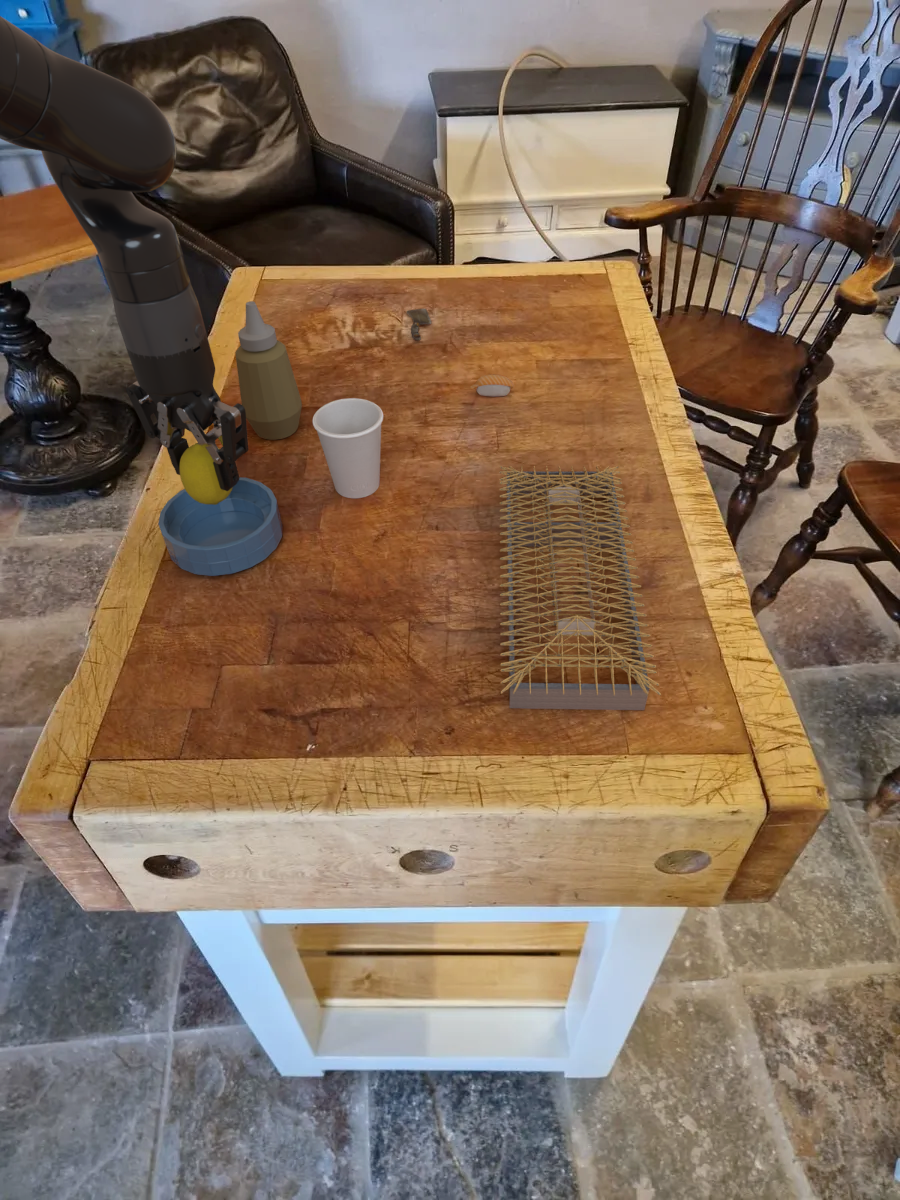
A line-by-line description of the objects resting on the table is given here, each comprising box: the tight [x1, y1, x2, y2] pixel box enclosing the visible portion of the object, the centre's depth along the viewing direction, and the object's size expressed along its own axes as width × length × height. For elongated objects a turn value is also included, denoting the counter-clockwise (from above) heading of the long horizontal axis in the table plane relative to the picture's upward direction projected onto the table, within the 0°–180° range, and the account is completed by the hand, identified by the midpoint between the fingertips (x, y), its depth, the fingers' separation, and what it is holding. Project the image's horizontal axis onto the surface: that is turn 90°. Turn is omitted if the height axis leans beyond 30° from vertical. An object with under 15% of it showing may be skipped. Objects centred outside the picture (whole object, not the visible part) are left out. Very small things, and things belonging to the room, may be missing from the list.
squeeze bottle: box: [234, 300, 303, 441], centre depth 104 cm, size 8×8×18 cm
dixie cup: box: [312, 397, 384, 499], centre depth 98 cm, size 8×8×10 cm
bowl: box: [157, 476, 283, 577], centre depth 92 cm, size 13×13×4 cm
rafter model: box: [499, 465, 662, 711], centre depth 85 cm, size 35×14×6 cm, turn 178°
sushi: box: [469, 373, 515, 397], centre depth 115 cm, size 3×6×3 cm, turn 88°
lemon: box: [179, 442, 233, 505], centre depth 87 cm, size 6×6×8 cm
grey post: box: [406, 308, 433, 342], centre depth 131 cm, size 12×1×5 cm
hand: (207, 478), depth 87 cm, fingers closed on lemon, 5 cm apart
